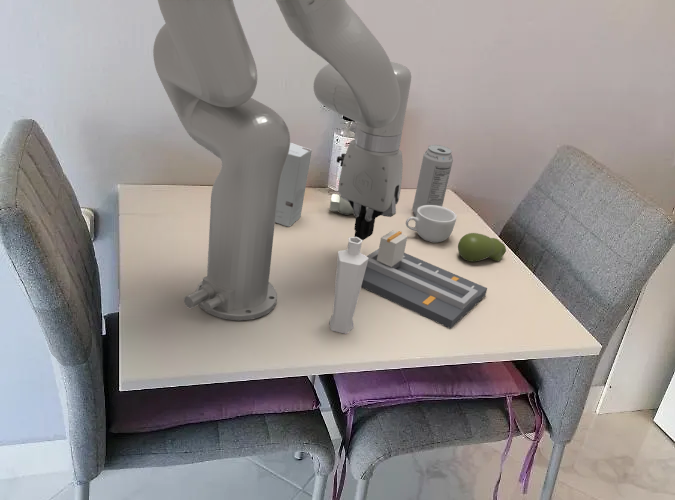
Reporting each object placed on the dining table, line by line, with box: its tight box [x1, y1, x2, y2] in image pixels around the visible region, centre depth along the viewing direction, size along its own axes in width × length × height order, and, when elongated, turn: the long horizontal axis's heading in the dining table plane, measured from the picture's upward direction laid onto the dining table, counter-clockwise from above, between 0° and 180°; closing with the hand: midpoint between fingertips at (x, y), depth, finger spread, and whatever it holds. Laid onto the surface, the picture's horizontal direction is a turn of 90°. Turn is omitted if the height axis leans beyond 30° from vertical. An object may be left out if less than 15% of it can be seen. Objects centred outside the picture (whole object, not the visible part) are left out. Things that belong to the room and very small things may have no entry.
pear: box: [457, 232, 507, 262], centre depth 131 cm, size 6×5×10 cm
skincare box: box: [275, 142, 313, 227], centre depth 132 cm, size 8×6×15 cm
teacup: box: [405, 205, 458, 243], centre depth 135 cm, size 10×8×5 cm
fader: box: [377, 230, 408, 269], centre depth 119 cm, size 4×3×6 cm
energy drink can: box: [412, 144, 454, 217], centre depth 142 cm, size 6×6×15 cm
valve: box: [329, 153, 354, 216], centre depth 138 cm, size 7×7×12 cm
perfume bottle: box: [329, 236, 369, 335], centre depth 102 cm, size 5×4×15 cm
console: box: [361, 248, 488, 329], centre depth 118 cm, size 14×20×3 cm
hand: (362, 236), depth 122 cm, fingers closed
